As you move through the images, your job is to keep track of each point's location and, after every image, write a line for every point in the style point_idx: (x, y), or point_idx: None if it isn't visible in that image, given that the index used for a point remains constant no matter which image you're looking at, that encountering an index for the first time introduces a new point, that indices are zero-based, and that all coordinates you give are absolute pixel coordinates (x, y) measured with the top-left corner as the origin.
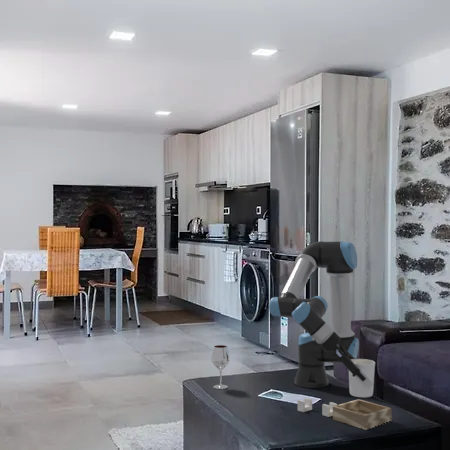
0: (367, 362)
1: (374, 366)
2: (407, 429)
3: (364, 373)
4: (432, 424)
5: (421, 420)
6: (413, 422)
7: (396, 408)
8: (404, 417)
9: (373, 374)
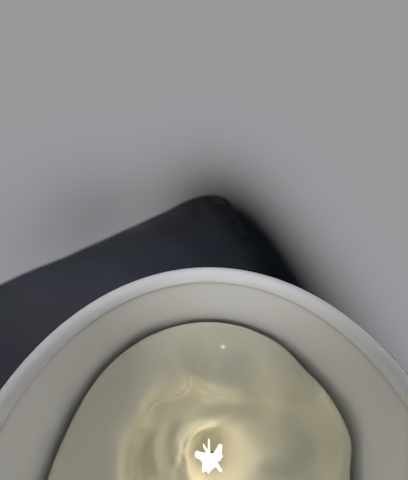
0: (55, 368)
1: (256, 295)
2: (268, 269)
3: (369, 447)
4: (205, 199)
5: (172, 219)
6: (194, 242)
7: (40, 272)
8: (144, 260)
9: (259, 332)
